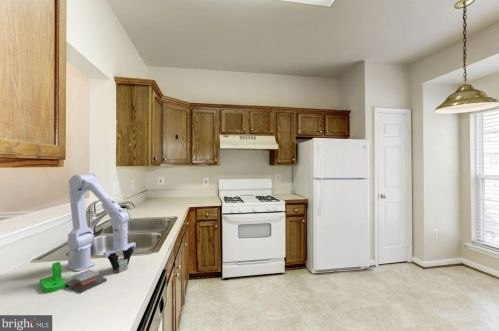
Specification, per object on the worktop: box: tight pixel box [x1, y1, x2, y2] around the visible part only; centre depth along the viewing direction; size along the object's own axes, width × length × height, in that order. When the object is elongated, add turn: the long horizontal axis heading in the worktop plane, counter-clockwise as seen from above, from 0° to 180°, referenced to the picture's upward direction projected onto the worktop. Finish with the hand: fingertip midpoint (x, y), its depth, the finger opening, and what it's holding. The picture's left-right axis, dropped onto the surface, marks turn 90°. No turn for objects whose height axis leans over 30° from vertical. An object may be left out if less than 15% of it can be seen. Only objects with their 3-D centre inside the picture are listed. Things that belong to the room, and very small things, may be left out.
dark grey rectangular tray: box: [64, 269, 108, 294], centre depth 97 cm, size 12×10×4 cm
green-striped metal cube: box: [113, 256, 128, 274], centre depth 108 cm, size 4×4×5 cm
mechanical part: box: [39, 261, 66, 294], centre depth 95 cm, size 12×6×8 cm, turn 50°
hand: (120, 267), depth 108 cm, fingers open, 5 cm apart
